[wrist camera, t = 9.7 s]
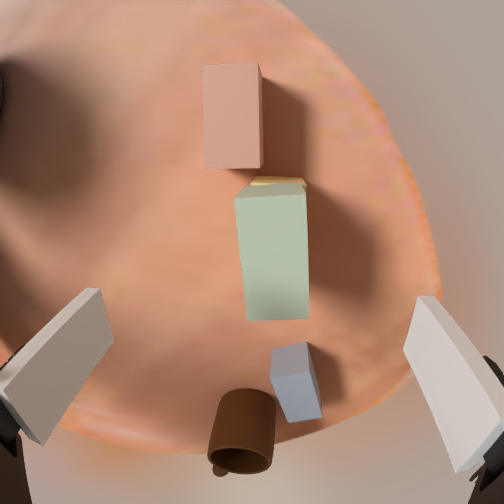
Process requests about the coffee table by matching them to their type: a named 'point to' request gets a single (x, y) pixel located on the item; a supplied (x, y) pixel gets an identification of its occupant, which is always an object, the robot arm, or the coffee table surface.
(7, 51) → the coffee table surface
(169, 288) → the coffee table surface
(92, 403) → the coffee table surface
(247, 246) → the sage brick
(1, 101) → the planter
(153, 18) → the coffee table surface
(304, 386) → the slate brick
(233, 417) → the mug
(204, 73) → the terracotta brick
